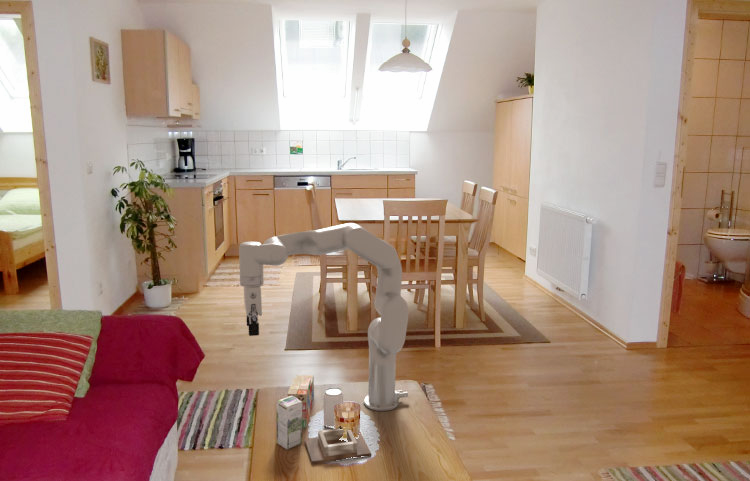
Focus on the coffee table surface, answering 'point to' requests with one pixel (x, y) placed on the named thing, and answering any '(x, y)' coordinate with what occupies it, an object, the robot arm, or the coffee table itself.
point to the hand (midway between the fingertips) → (252, 330)
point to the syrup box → (289, 422)
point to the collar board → (335, 446)
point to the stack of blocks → (303, 394)
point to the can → (331, 404)
